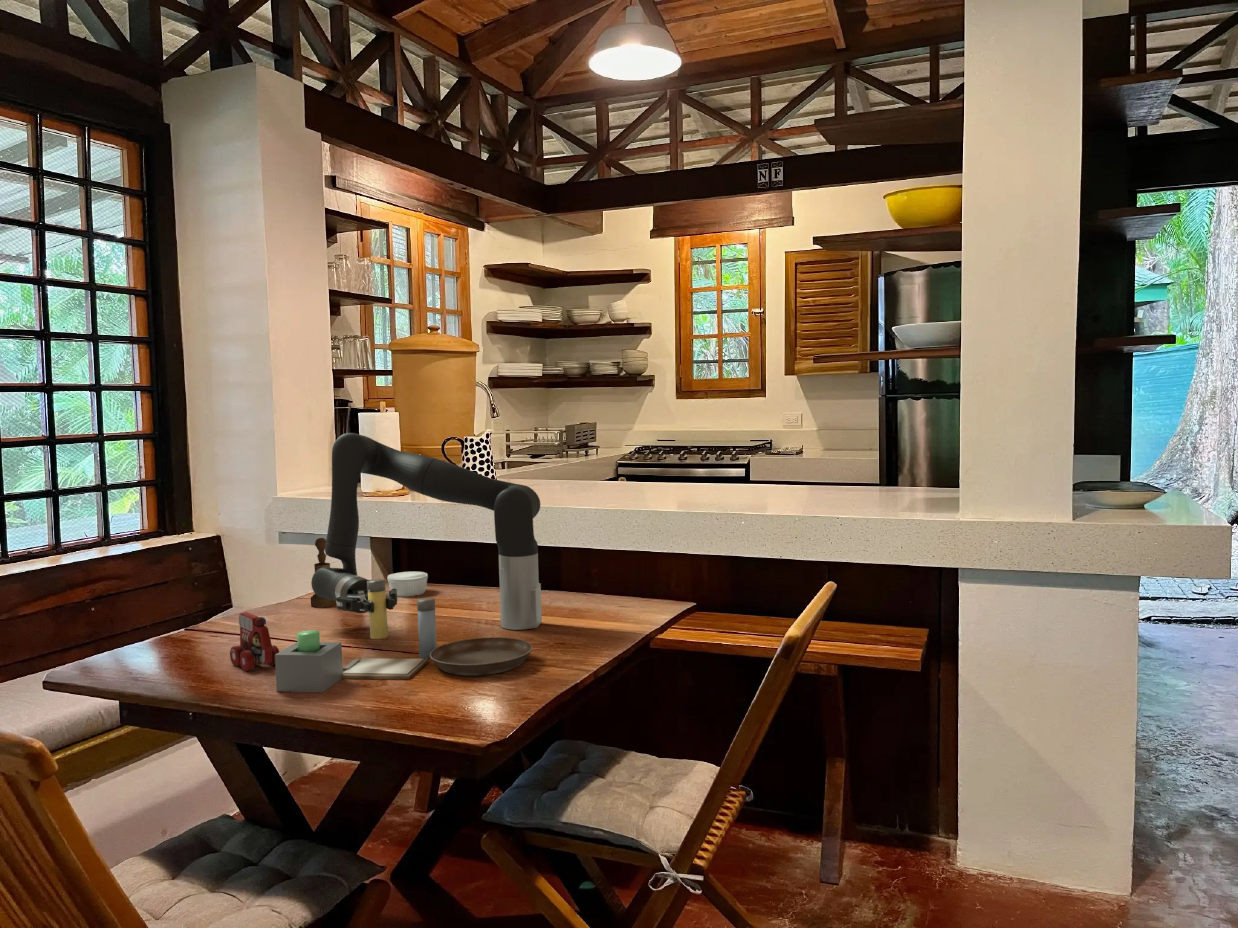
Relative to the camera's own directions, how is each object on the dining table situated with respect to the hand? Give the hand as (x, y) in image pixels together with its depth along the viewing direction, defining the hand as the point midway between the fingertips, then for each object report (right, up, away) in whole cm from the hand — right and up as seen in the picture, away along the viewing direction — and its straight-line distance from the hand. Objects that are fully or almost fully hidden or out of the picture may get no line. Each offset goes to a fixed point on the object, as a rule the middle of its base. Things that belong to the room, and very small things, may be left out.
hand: (381, 606), depth 189 cm
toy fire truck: (-25, -12, -2) cm, 28 cm away
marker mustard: (-1, -7, +3) cm, 8 cm away
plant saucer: (+22, -11, -4) cm, 25 cm away
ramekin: (-10, -7, +65) cm, 67 cm away
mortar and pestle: (-29, -8, +53) cm, 61 cm away
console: (-9, -12, -16) cm, 22 cm away
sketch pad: (+2, -12, -7) cm, 14 cm away
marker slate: (+9, -11, +2) cm, 14 cm away
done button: (-10, -7, -16) cm, 20 cm away
